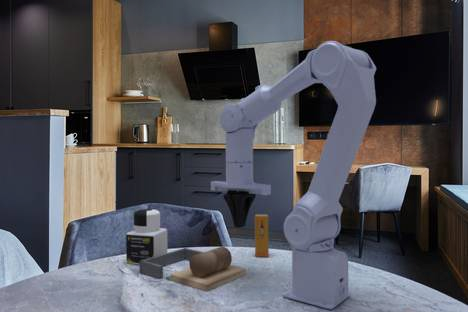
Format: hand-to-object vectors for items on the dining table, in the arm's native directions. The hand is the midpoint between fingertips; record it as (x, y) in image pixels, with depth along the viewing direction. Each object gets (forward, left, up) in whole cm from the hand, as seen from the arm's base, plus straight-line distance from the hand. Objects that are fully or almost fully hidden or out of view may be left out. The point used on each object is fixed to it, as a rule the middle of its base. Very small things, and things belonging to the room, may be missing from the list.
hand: (239, 226), depth 84 cm
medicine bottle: (+23, +6, -10) cm, 26 cm away
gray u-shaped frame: (+14, +6, -10) cm, 18 cm away
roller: (+3, +6, -6) cm, 9 cm away
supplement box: (+4, -14, -10) cm, 18 cm away
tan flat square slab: (+4, +6, -10) cm, 12 cm away
